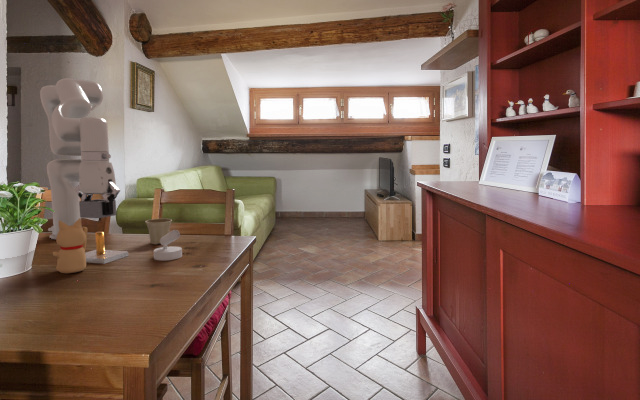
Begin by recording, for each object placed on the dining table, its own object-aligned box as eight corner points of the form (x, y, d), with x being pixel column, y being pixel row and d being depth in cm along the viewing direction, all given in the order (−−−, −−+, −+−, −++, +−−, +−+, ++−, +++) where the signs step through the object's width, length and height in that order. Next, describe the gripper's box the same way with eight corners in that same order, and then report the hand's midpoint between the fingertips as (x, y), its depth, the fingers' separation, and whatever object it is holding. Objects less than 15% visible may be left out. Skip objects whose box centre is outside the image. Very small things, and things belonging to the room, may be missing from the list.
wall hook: (163, 232, 116) (147, 228, 122) (164, 262, 117) (148, 257, 123) (188, 228, 123) (172, 225, 129) (189, 257, 124) (173, 252, 130)
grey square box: (98, 214, 124) (97, 199, 124) (116, 215, 123) (115, 199, 122) (80, 217, 118) (79, 201, 117) (98, 218, 116) (98, 202, 115)
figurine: (82, 264, 115) (79, 215, 113) (97, 270, 109) (94, 218, 107) (49, 271, 108) (45, 218, 106) (63, 277, 102) (60, 222, 101)
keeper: (72, 261, 118) (70, 234, 117) (98, 253, 128) (96, 228, 127) (104, 263, 115) (102, 236, 114) (128, 255, 125) (127, 230, 124)
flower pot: (166, 245, 140) (165, 222, 139) (141, 245, 140) (140, 222, 140) (176, 240, 150) (176, 218, 149) (153, 240, 150) (152, 218, 149)
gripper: (127, 158, 120) (130, 213, 122) (82, 158, 124) (86, 212, 126) (109, 157, 113) (112, 217, 114) (62, 157, 117) (65, 215, 119)
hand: (98, 213), depth 120 cm, fingers closed on grey square box, 7 cm apart
